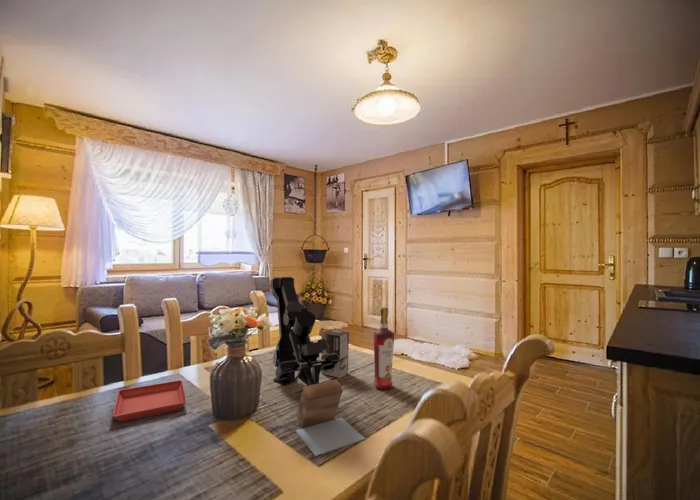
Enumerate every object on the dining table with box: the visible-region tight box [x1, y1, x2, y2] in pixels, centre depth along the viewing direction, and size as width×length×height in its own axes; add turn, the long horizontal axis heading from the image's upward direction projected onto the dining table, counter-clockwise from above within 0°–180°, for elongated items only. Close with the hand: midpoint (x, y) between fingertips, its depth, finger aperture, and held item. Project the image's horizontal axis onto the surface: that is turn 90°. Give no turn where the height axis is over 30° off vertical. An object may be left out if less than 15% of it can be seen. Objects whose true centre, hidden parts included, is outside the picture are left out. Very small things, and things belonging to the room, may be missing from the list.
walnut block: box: [296, 378, 344, 429], centre depth 92 cm, size 4×10×11 cm, turn 121°
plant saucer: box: [112, 379, 187, 423], centre depth 101 cm, size 18×18×3 cm
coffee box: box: [320, 329, 350, 379], centre depth 129 cm, size 9×6×16 cm
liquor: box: [372, 306, 395, 390], centre depth 117 cm, size 7×7×28 cm
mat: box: [295, 417, 366, 457], centre depth 86 cm, size 12×14×1 cm
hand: (317, 393), depth 93 cm, fingers closed
